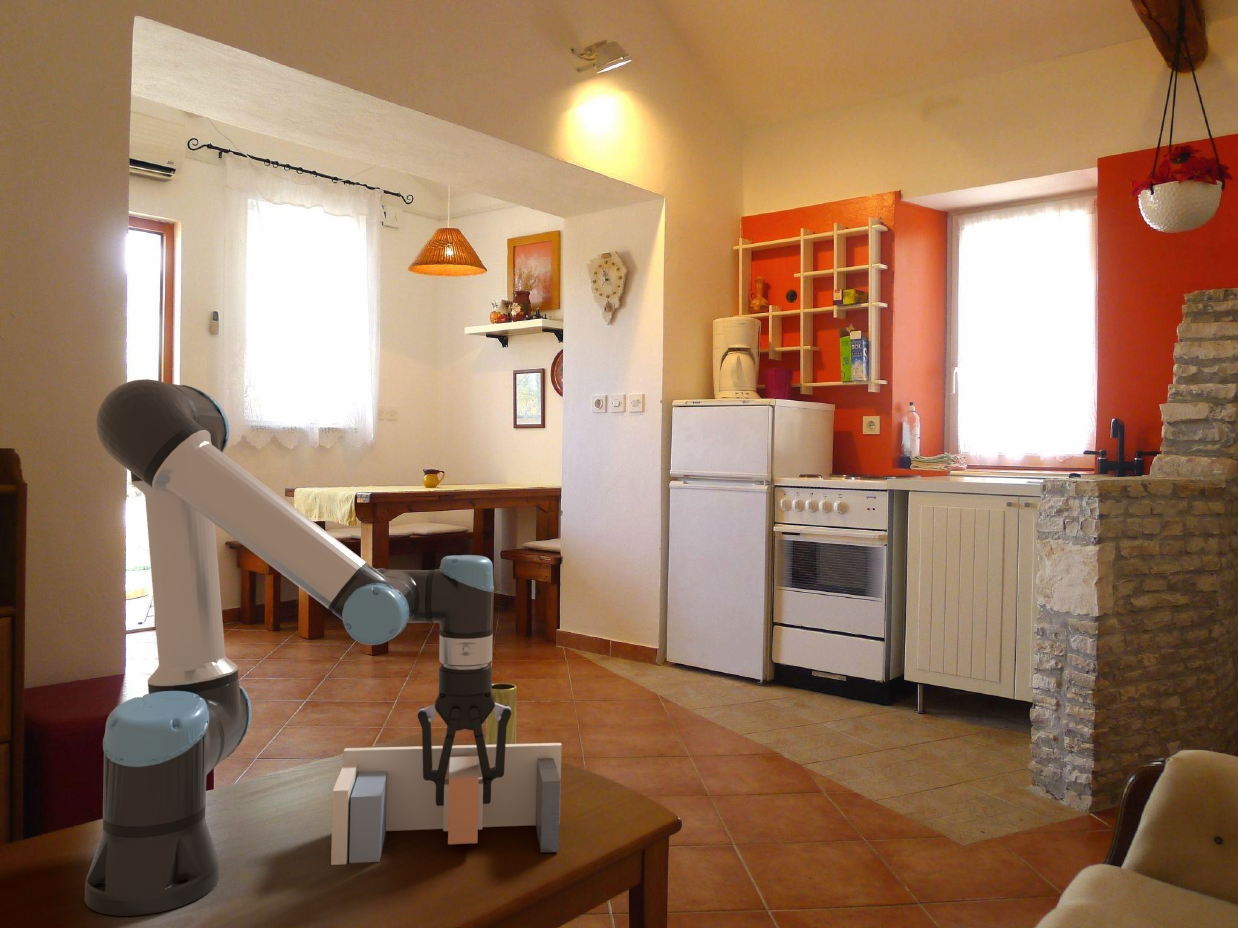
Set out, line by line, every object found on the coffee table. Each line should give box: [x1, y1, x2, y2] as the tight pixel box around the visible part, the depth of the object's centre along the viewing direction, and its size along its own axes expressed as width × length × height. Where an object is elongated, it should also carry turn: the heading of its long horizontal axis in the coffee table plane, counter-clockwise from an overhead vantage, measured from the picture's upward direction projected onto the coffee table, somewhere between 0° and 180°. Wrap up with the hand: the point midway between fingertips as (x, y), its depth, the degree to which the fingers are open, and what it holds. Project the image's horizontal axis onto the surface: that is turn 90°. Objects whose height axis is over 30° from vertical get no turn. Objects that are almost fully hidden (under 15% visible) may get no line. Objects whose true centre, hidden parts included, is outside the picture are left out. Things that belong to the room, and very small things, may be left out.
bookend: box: [535, 758, 561, 853], centre depth 135 cm, size 2×10×10 cm, turn 9°
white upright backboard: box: [330, 742, 563, 866], centre depth 134 cm, size 32×12×12 cm, turn 99°
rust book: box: [447, 756, 479, 845], centre depth 133 cm, size 4×10×9 cm, turn 9°
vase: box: [484, 682, 518, 745], centre depth 167 cm, size 6×6×14 cm
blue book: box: [348, 772, 387, 864], centre depth 131 cm, size 4×10×9 cm, turn 9°
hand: (462, 825), depth 133 cm, fingers closed on rust book, 4 cm apart
